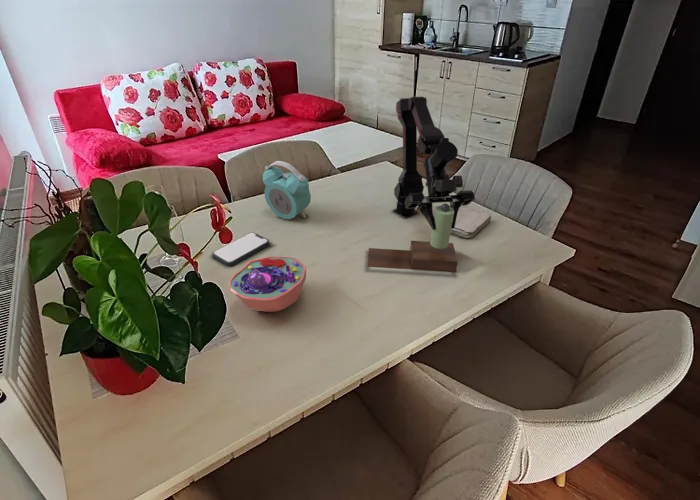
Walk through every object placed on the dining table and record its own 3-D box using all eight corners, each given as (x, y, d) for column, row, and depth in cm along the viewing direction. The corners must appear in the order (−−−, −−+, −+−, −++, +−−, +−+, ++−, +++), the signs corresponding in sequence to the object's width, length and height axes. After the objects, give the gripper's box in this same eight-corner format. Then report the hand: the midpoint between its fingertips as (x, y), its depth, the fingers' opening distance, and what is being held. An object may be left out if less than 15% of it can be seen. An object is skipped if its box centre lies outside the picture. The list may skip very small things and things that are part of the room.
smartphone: (230, 268, 124) (271, 244, 134) (229, 263, 123) (270, 240, 133) (210, 257, 128) (252, 235, 139) (209, 252, 127) (251, 231, 138)
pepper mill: (432, 237, 127) (438, 198, 120) (450, 241, 125) (457, 202, 118) (427, 246, 122) (434, 206, 116) (446, 250, 121) (453, 210, 114)
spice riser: (368, 252, 133) (369, 238, 130) (450, 256, 132) (453, 242, 129) (367, 270, 124) (368, 256, 122) (455, 276, 123) (457, 261, 120)
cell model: (322, 299, 113) (321, 263, 107) (258, 337, 101) (254, 299, 95) (282, 271, 123) (279, 237, 117) (219, 303, 111) (213, 266, 104)
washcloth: (436, 229, 145) (437, 221, 144) (459, 210, 158) (461, 202, 156) (469, 241, 140) (470, 233, 138) (490, 220, 152) (492, 213, 150)
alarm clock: (316, 216, 151) (315, 162, 140) (299, 227, 144) (297, 171, 133) (278, 203, 158) (274, 151, 147) (260, 213, 151) (255, 159, 141)
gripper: (412, 165, 113) (419, 223, 110) (479, 163, 116) (488, 219, 113) (401, 181, 124) (407, 233, 121) (463, 178, 127) (470, 229, 124)
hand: (443, 229), depth 119 cm, fingers closed on pepper mill, 5 cm apart
